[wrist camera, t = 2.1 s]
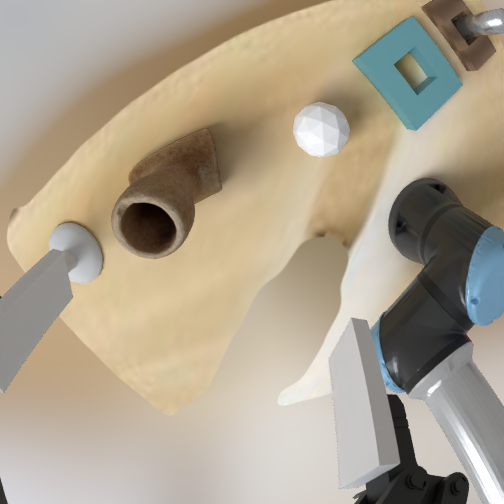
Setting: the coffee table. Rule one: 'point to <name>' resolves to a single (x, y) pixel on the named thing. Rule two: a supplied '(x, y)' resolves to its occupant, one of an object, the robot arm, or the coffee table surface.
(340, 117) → the geometric ball
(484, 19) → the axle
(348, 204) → the coffee table surface
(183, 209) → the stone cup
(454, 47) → the brown rectangular frame
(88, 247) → the candlestick
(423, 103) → the seat block
